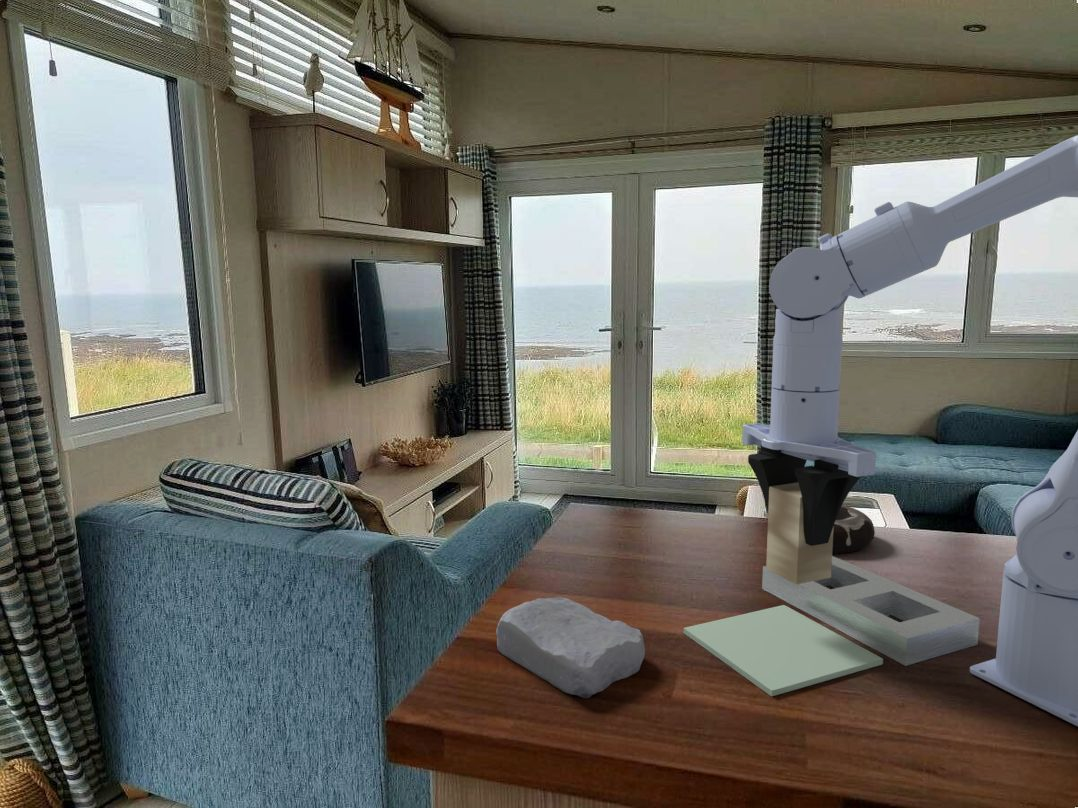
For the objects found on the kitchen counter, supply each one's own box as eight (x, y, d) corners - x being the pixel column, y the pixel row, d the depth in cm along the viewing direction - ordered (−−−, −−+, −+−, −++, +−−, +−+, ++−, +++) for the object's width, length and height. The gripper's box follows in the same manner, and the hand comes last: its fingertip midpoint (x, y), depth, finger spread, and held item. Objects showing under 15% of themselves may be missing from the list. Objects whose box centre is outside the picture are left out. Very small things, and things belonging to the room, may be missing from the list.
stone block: (564, 638, 72) (484, 651, 66) (572, 590, 72) (492, 599, 65) (657, 691, 63) (574, 712, 57) (666, 637, 63) (585, 651, 56)
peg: (831, 577, 67) (835, 492, 65) (796, 584, 65) (800, 497, 64) (799, 562, 70) (803, 481, 69) (766, 569, 69) (769, 486, 68)
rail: (977, 644, 66) (979, 618, 65) (905, 665, 62) (907, 638, 62) (826, 575, 82) (827, 553, 82) (762, 588, 79) (762, 566, 78)
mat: (882, 664, 63) (883, 658, 62) (771, 696, 58) (771, 690, 58) (783, 609, 73) (784, 604, 73) (683, 632, 69) (683, 627, 69)
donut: (773, 551, 90) (774, 520, 90) (777, 523, 101) (778, 495, 100) (877, 562, 86) (879, 530, 86) (869, 532, 97) (871, 502, 96)
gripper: (718, 381, 70) (714, 518, 72) (832, 402, 57) (823, 569, 59) (776, 377, 73) (771, 509, 75) (898, 396, 60) (888, 556, 62)
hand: (798, 535), depth 67 cm, fingers closed on peg, 4 cm apart
